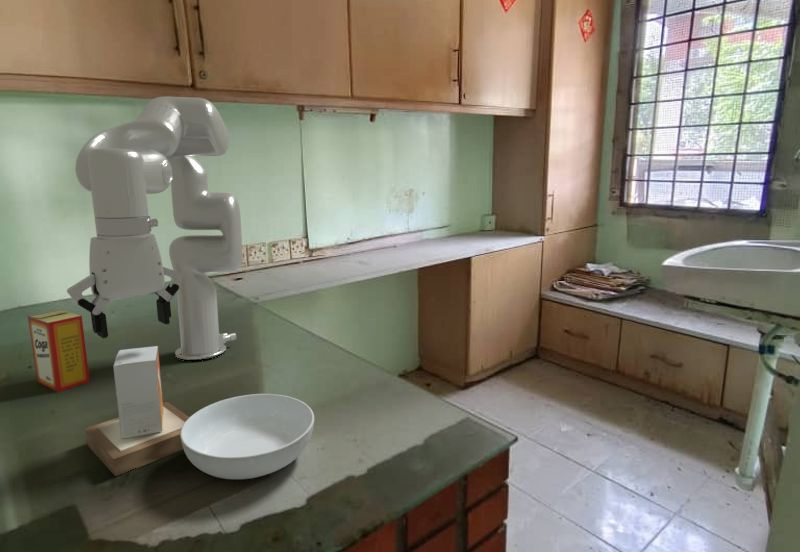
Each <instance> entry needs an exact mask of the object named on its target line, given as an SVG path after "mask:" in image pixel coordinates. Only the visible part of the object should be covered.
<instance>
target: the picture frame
mask: <svg viewBox="0 0 800 552" xmlns="http://www.w3.org/2000/svg"><path fill="white" fill-rule="evenodd" d="M163 411H164V412H163V424H162V430H163V431H162V432H157V433H152V434H147V435H142V436H136V437H131V438H125V439H121V433H120V423H119V417H116V418H113V419H110V420H106V421H103V422H100V423H98V424H95V425H91V426H88V427H85V428H84V434H85V441H86V445H87V447H89V449H90V450H91V451H92V452H93V453H94V454H95V455H96V456H97V458H98V457H99V460H100V461H101V462H102V463H103V465H104V466H105V467H106V468H107V469H108V470H109V471H110V472H111V473H112V474H113V476H114V477H115V476H117V477H119V476H121V475H120V474H122V475H124V474H126V472H127V473H128V471H129V472H131V471H130V470H132V469H134V470H136V469H138V468H141V467H143V466H144V467H145V466H146V465H148V464H151V463H153V462H155V461H158V460H160V459H163V458H166V457H169V456H171V455H173V454H176V453H178V452H180V451H184V449H183V446H182V442H181V438H180V433H181V429H182V426H183V425H184V423H185V422H186V421H187V420H188V419H189V418H190V417H191V416H188V415H187V414H185V413H184V412H182V411H181V410H179V409H178V408H177V407H176V406H174V405H172V403H170V402H168V401H165V402H163ZM135 468H136V469H135ZM132 471H133V470H132ZM123 473H124V474H123ZM118 475H119V476H118Z"/></svg>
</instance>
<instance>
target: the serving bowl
mask: <svg viewBox="0 0 800 552" xmlns="http://www.w3.org/2000/svg"><path fill="white" fill-rule="evenodd" d="M189 417H190V418H189V419H188V420H187V421H186V422H185V423H184V425H183V426H182V429H181V433H180V438H181V442H182V446H183V451H184V454H185V455H186V457H187V459H188V461H190V463H191V464H192V465H193V466H195V467H196V468H197V469H198V470H200V471H201V472H203V473H206V474H207V475H210V476H212V477H215V478H219V479H225V480H248V479H254V478H258V477H263V476H266V475H269V474H272V473H275V472H277V471H279V470H281V469H282V468H285V467H286V466H288V465H290V464H292V462H293V461H295V460H296V459H297V458H298V457H299V456H301V454H302V453H303V451H304V450H305V449H306V447H307V446H308V444H309V442H310V440H311V438H312V435H313V432H314V431H313V430H314V426H315V414H314V412H313V410H312V408H311V406H310V405H308V404H307V403H305V402H304V401H302V400H301V399H298V398H294V397H292V396H288V395H283V394H275V393H256V394H255V393H253V394H245V395H239V396H234V397H230V398H226V399H222V400H219V401H217V402H214V403H211V404H209V405H207V406H205V407H202V408H201V409H199V410H198V411H196V412H195V413H193V414H192V415H190V416H189Z"/></svg>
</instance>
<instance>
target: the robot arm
mask: <svg viewBox="0 0 800 552" xmlns="http://www.w3.org/2000/svg"><path fill="white" fill-rule="evenodd" d="M229 139H230V138H229V133H228V129H227V126H226V123H225V122H224V120H223V118H222V117H221V114H220V113H219V110H218V109H217V108H216V106H215V105H214V104H213V103H212V102H211V101H209V100H208V99H206V98H203V97H188V96H186V97H185V96H171V95H170V96H169V95H168V96H158V97H154V98H153V99H151V100H150V101H148V103H147V104H146V106H145V107H144V108H143V109H142V111H141V112H140V114H139V115H138V117H137V118H136V119H135V120H133V121H128V122H126V123H123V124H121V125H118V126H114V127H112V128H108V129H106V130H103V131H100V132H98V133H96V134H94V135H93V136H92V137H90V138H89V139H88V140H87V142H85V144H84V145H83V146H82V148H81V149H80V151H79V152H78V155H77V157H76V159H75V169H74V170H75V175H76V178H77V180H78V182H79V185H81V186H82V188H84V189H85V190H87V191H88V192H90V193H91V200H92V208H93V214H94V215H93V216H94V225H95V231H96V236H93V237H91V238H90V242H89V258H88V259H89V275H88V276H86V277H85V278H83V279H82V280H80V281H78V282H77V283H74V284H73V285H72V286H70V287H68V288H67V290H66V293H67V294H68V295H69V297H71V299H72V300H73V301H74V302H75V304H76V305H78V306H79V307H80V308H83V309H85V311H88V312H90V319H91V325H92V331H93V333H94V334H97V336H99V337H100V338H102V339H106V338H108V337H109V330H108V324H107V316H106V313H104V312H103V311H104V309H105V308H106V306H107V305H108V304H109V302H110V301H118V300H123V299H124V300H125V299H130V298H131V299H132V298H135V297H141V296H149V295H152V294H155V295H156V296H157V297H158V299H156V314H157V320H158V322H160V323H162V324H164V325H170V324H171V323H170V322H171V321H170V318H171V317H172V311H171V310H172V309H171V302H172V301H173V298H174V296H175V294H176V301H177V313H178V324H179V336H180V346H179V348H177V349H176V350H175V352H174V355H176V356H175V358H176V357H177V358H176V359H178V358H180V359H188V360H189V359H201V358H206V357H211V356H215V355H218V354H221V353H223V352H224V351H225V350H226V351H227V345H226V343H227V342H230V341H235V340H237V334H236V333H235V332H231V333H227V332H223V333H220V331H219V330H220V327H219V314H218V299H217V298H218V296H217V287H216V286H215V284H214V282H213V280H212V279H211V278H210V277H209V276H208V275H207V273H222V272H223V273H224V272H225V273H226V272H227V273H229V272H235V271H238V270H239V269H240V268H241V267H242V264H243V241H242V240H243V238H242V237H243V235H242V222H241V210H240V205H239V204H240V203H239V202H238V199H237V198H236V196H234V195H233V194H232V193H229V192H210V191H209V187H208V174H207V171H206V169H205V167H204V166H203V165H202V164H201V163H200V161H199V160H198V159H197V158H196V157H195V156H197V157H202V156H203V157H219V156H223V155H224V154H226V153H227V151H228V149H229V145H230V140H229ZM169 187H170V189H171V191H170V192H171V203H172V213H173V214H172V215H173V220H174V223H175V226H177V227H178V228H179V229H181V230H187V231H220V232H221V234H222V235H221V234H220V235H211V234H210V235H207V234H202V235H199V234H195V235H191V234H190V235H182V236H178V237H177V238H175V239H173V240H172V241H171V242H170V244H169V248H168V252H169V259H170V260H169V261H170V262H171V268H172V269H170V268H167V267H164V266H163V259H162V255H161V252H160V248H159V245H158V241H157V239H156V236H155V234H154V233H151V232H152V228H154V227H158V226H159V221H158V219H157V218H152V217H151V216H150V215H149V208H148V206H149V205H148V199H147V198H148V197H147V196H148V195H152V194H153V195H155V194H160V193H162V192H164V191H166V190H167V189H168V188H169ZM165 276H166V277H170V282H169V284H168V285H167V286H166V287H165V285H166V281H165ZM89 288H90V290H91V294H93V295H94V297H93V298H92V299H91V301H89V300H87V299H86V298H85V297H84V294H83V292H85V291H87V290H88V289H89ZM180 359H179V360H180Z"/></svg>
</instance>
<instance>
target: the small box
mask: <svg viewBox="0 0 800 552" xmlns="http://www.w3.org/2000/svg"><path fill="white" fill-rule="evenodd" d="M159 355H160V354H159V346H158V345H155V346H154V345H153V346H145V347H136V348H127V349H119V350H118V352H117V354H116V356H115V359H114V362H113V365H112V366H113V375H114V384H115V385H114V386H115V394H116V401H117V410H118V418H119V423H120V433H121V439H125V438H131V437H136V436H142V435H147V434H152V433H157V432H162V431H163V430H162V424H163V412H164V411H163V403H164V402H163V391H162V380H161V377H162V376H161V369H160V368H161V367H160V366H161V365H160V356H159Z"/></svg>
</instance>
